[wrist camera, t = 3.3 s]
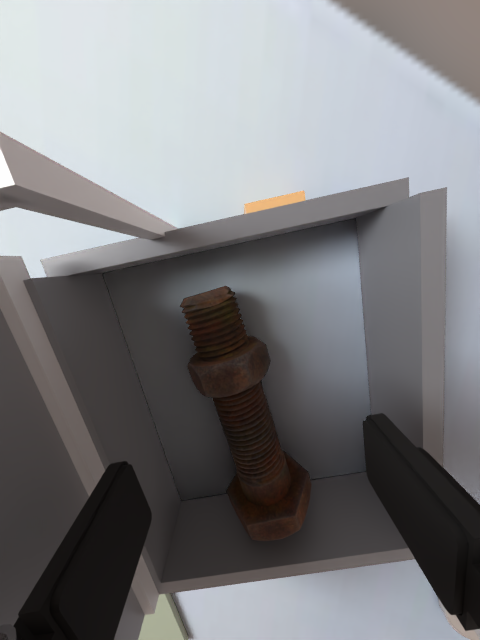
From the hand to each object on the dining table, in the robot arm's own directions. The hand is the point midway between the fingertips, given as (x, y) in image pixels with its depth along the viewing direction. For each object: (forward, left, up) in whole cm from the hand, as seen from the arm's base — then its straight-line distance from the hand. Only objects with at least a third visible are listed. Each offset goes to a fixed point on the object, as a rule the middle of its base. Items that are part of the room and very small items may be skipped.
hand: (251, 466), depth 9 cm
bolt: (0, +1, -8) cm, 8 cm away
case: (0, +1, -7) cm, 7 cm away
